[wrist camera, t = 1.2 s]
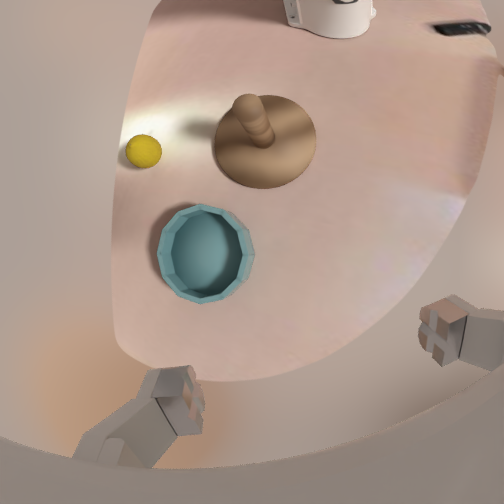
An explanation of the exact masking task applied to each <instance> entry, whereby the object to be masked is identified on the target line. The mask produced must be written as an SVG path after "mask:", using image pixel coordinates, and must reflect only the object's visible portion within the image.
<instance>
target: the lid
mask: <svg viewBox="0 0 504 504" xmlns="http://www.w3.org/2000/svg"><path fill="white" fill-rule="evenodd" d="M315 147H316V133H315V128H314V125H313V122H312V120H311V118H310V117H309V115H308V114H307V113H306V111H305V110H304V109H303V108H302V107H300V106H299V105H298V104H296V103H295V102H293V101H291V100H289V99H286V98H283V97H279V96H272V95H263V96H256V95H254V94H244V95H241V96H239V97H238V98H237V99H236V100H235V101H234V103H233V106H232V109H231V110H230V111H229V112H228V113H227V114H226V115H225V117H224V118H223V119H222V121H221V123H220V124H219V127H218V129H217V132H216V136H215V153H216V156H217V160H218V162H219V164H220V166H221V167H222V169H223V170H224V171H225V172H226V173H227V174H228V175H229V176H230V177H231V178H232V179H234V180H235V181H237V182H238V183H240V184H242V185H245V186H248V187H251V188H257V189H269V188H275V187H279V186H282V185H285V184H287V183H289V182H291V181H293V180H294V179H296V178H297V177H298V176H299V175H301V174H302V173H303V172H304V170H305V169H306V168H307V167H308V165H309V164H310V162H311V160H312V158H313V155H314V152H315Z"/></svg>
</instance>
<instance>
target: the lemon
mask: <svg viewBox="0 0 504 504" xmlns="http://www.w3.org/2000/svg"><path fill="white" fill-rule="evenodd" d="M161 155H162V148H161V146H160V144H159V142H158V141H157V140H156V139H155V138H153V137H151V136H148V135H143V134H142V135H137V136H134V137H133V138H131V139H130V140H129V142H128V143H127V146H126V156H127V158H128V160H129V161H130V162H131V163H132V164H133V165H135V166H137V167H140V168H150V167H152V166H154V165H156V164H157V163H158V161H159V160H160V158H161Z"/></svg>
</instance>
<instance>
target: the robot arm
mask: <svg viewBox="0 0 504 504" xmlns="http://www.w3.org/2000/svg"><path fill="white" fill-rule="evenodd" d="M283 3H284V7H285V11H286V16H287V20H288V24H289V25H290V26H292V27H297V28H304V29H307V30H309V31H311V32H313V33H315V34H318V35H321V36H325V37H330V38H352V37H356V36H359V35H361V34H363V33H364V32H365V31H366V30H367V29H368V28H369V25H370V20H371V19H372V18H374V17H375V16H376V10H375V9H374V8H373V7H372V0H283ZM420 320H421V321H422V323H421V325H420V327H419V331H418V337H419V342H420V344H421V346H422V348H423V349H424V350H425V351H427V352H431V353H432V358H433V359H434V360H435V361H436V362H437V363H438V364H439V365H440V366H441V367H443V366H445V365H447V364H449V363H451V362H453V361H455V360H457V359H459V360H461V361H464V362H467V363H469V364H472V365H475V366H478V367H481V368H483V369H486V370H489V371H491V372H490V373H488V374H487V375H486V376H484V377H483V378H481V379H480V380H478V381H477V382H475V383H474V384H472V385H470V386H469V387H467V388H465V389H464V390H462V391H461V392H459V393H457V394H455V395H454V396H452V397H450V398H449V399H447V400H445V401H443V402H441V403H439V404H438V405H436V406H434V407H432V408H430V409H428V410H426V411H424V412H422V413H420V414H418V415H416V416H413V417H411V418H409V419H407V420H405V421H402V422H400V423H398V424H395V425H393V426H390V427H388V428H386V429H383V430H381V431H378V432H376V433H373V434H370V435H367V436H364V437H362V438H359V439H356V440H353V441H350V442H346V443H343V444H340V445H337V446H334V447H330V448H326V449H323V450H319V451H315V452H311V453H307V454H302V455H298V456H293V457H289V458H284V459H279V460H273V461H267V462H261V463H254V464H246V465H238V466H228V467H216V468H197V469H157V468H152V467H153V466H154V465H155V463H156V462H157V461H158V460H159V459H160V458H161V456H162V455H163V454H164V453H165V452H166V450H167V449H168V448H169V447H170V446H171V445H172V443H173V442H174V441H175V440H176V439H177V436H184V435H195V434H202V427H203V418H202V416H201V413H202V412H203V411H204V408H205V401H204V394H203V391H202V388H201V385H200V384H198V383H197V382H195V379H196V373H195V371H194V369H193V367H192V366H191V365H188V366H179V367H168V368H158V369H150V370H148V371H147V373H146V375H145V378H144V380H143V383H142V385H141V387H140V390H139V392H138V395H137V397H136V399H131V400H130V401H129V402H127V403H126V404H125V405H123V406H122V407H121V408H119V409H118V410H116V411H115V412H114V413H112V414H111V415H110V416H108V417H107V418H106V419H104V420H103V421H101V422H100V423H98V424H97V425H96V426H94V427H93V428H91V429H90V430H89V431H87V432H86V433H84V434H83V436H82V438H81V440H80V442H79V444H78V446H77V448H76V450H75V453H74V454H73V457H72V458H69V457H65V456H61V455H56V454H52V453H49V452H45V451H41V450H37V449H34V448H31V447H28V446H25V445H22V444H19V443H16V442H13V441H11V440H8V439H6V438H3V437H0V504H504V311H501V310H492V309H484V308H481V309H478V308H476V307H474V306H473V305H471V304H469V303H468V302H466V301H464V300H463V299H461V298H459V297H458V296H456V295H449V296H447V297H445V298H443V299H441V300H439V301H437V302H434V303H432V304H430V305H427V306H424V307H422V308H421V311H420Z"/></svg>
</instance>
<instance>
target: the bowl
mask: <svg viewBox="0 0 504 504" xmlns="http://www.w3.org/2000/svg"><path fill="white" fill-rule="evenodd" d="M254 256H255V253H254V249H253V245H252V241H251V237H250V233H249V230H248V229H247V228H246V227H245V226H244V225H243V224H242V223H241V222H240V220H239V219H238V218H237V217H236V216H235V215H234V214H233V213H231V212H228V211H226V210H223V209H219V208H215V207H211V206H207V205H203V204H198V205H195V206H192V207H190V208H187V209H184V210H181V211H178V212H177V213H176V214H175V215H174V217H173V218H172V219H171V220H170V221H169V222H168V224H167V225H166V226H165V227H164V228H163V229H162V233H161V237H160V241H159V246H158V250H157V257H158V261H159V266H160V270H161V274H162V278H163V279H164V280H165V281H166V283H167V284H168V285H169V286H170V287H171V289H172V290H173V291H174V292H175V293H176V295H177V296H179V297H182V298H184V299H187V300H190V301H192V302H195V303H198V304H203V303H208V302H213V301H218V300H222V299H225V298H227V297H228V296H230V295H232V294H233V293H234V292H235V291H236V290H237V289H238V288H239V287H240V286H241V285H242V284H243V283H244V282H245V281H246V280H247V279H248V278H249V274H250V271H251V267H252V263H253V260H254Z"/></svg>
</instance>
